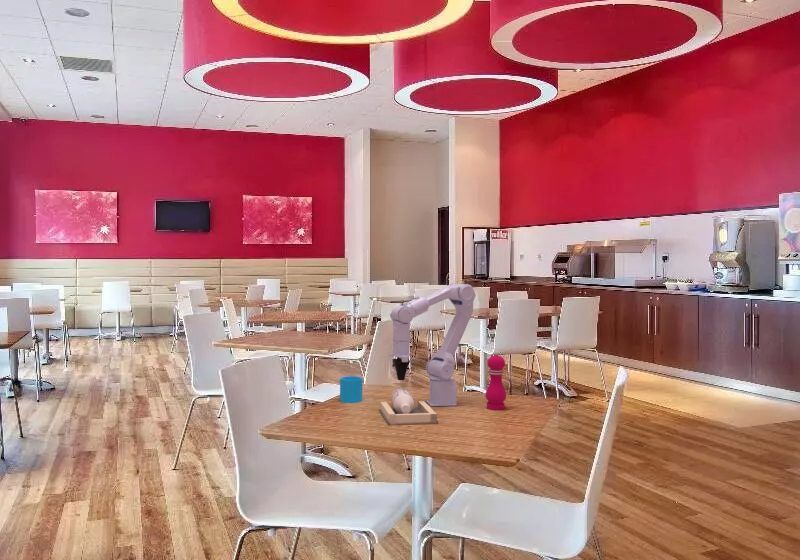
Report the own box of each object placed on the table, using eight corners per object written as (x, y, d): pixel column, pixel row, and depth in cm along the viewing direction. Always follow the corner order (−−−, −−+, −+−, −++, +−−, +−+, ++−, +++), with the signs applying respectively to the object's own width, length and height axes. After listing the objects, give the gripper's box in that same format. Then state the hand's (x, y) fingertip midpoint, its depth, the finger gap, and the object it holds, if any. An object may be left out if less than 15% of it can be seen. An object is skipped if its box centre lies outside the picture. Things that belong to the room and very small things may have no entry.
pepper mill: (505, 406, 241) (506, 349, 241) (506, 410, 234) (507, 352, 234) (484, 405, 242) (485, 349, 242) (485, 410, 235) (486, 352, 234)
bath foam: (393, 408, 235) (397, 422, 216) (389, 389, 235) (393, 401, 215) (412, 404, 236) (418, 418, 216) (409, 385, 236) (414, 396, 216)
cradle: (425, 409, 235) (425, 400, 235) (438, 423, 215) (438, 413, 215) (378, 410, 232) (379, 402, 232) (388, 425, 212) (388, 415, 212)
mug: (359, 403, 244) (360, 380, 244) (337, 402, 245) (337, 379, 245) (366, 396, 256) (366, 374, 256) (344, 395, 257) (345, 374, 257)
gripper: (386, 338, 242) (386, 376, 242) (393, 343, 228) (393, 383, 228) (406, 338, 243) (405, 376, 244) (414, 343, 229) (413, 383, 229)
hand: (401, 379), depth 236 cm, fingers closed
